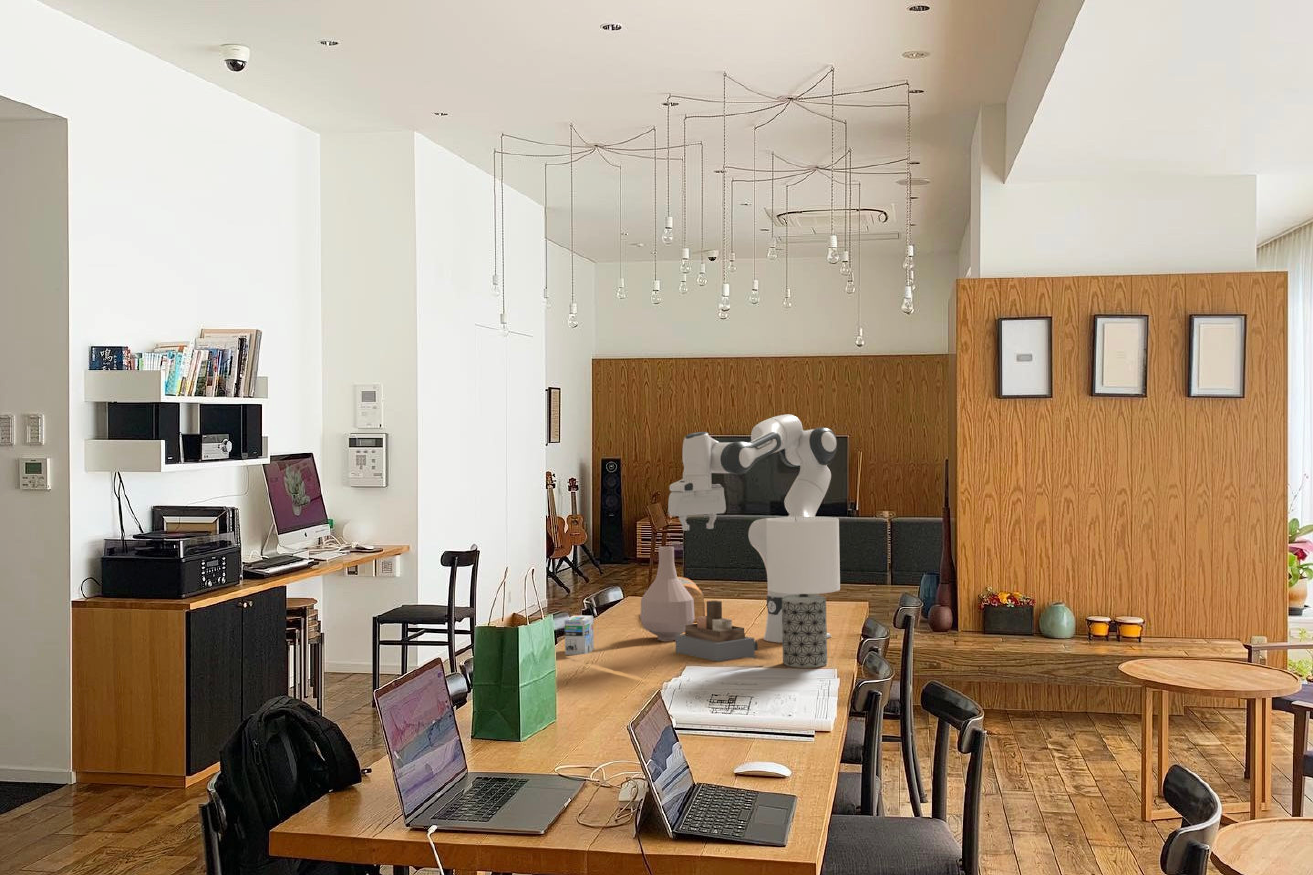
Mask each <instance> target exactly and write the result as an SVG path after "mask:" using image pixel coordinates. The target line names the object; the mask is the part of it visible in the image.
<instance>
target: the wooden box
mask: <svg viewBox="0 0 1313 875" xmlns="http://www.w3.org/2000/svg"><path fill="white" fill-rule="evenodd" d="M677 578H678V579H679V580H680V582H681V583H682V584H683V586H684V587H685V588H686V590H687V591H688V592H689V593H690V595H691V596H692V597H693V599H694V615H695V619H694V622H693V623H697V617H701V616H706V608H705V606H706V605H705V604H706V603H705V597H704V596H705V595H704V592H703V591H702V590H701V589H700V588H699V587H698V586H697V584H696V583H695V582H694V581H693V580H691V579H689V578H687V577H684V576H677Z"/></svg>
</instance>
